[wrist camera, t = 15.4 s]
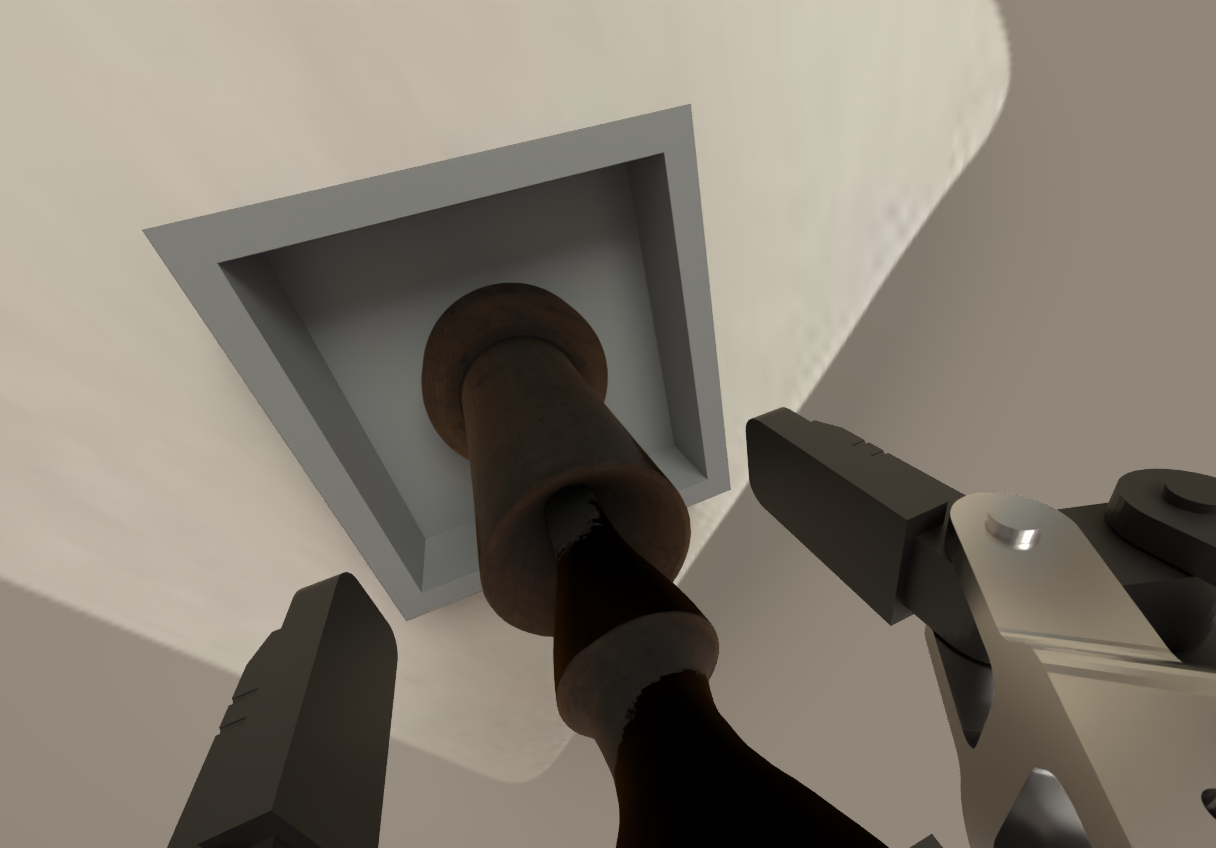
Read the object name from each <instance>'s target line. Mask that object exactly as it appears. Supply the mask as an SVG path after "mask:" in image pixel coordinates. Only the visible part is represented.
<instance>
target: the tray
mask: <svg viewBox="0 0 1216 848" xmlns="http://www.w3.org/2000/svg"><path fill="white" fill-rule="evenodd" d="M142 231H143V232H144V234H145V235H146V237H147V238H148V240H149V241H150V243H151V244H152V246H153V247H154V249H155V250H156V252H157V253H158V255H159V256H160V258H161V259H162V261H163V262H164V264H165V265H166V266H167V268H168V269H169V271H170V272H171V274H172V275H173V277H174V278H175V280H176V281H177V283H178V284H179V286H180V287H181V289H182V290H183V292H184V293H185V295H186V296H187V298H188V299H189V300H190V302H191V303H192V305H193V306H194V308H195V309H196V311H197V312H198V314H199V315H200V317H201V318H202V320H203V321H204V323H205V324H206V326H207V327H208V329H209V330H210V332H211V333H212V335H213V336H214V337H215V339H216V340H217V342H218V343H219V345H220V346H221V348H222V349H223V351H224V352H225V354H226V355H227V357H228V358H229V360H230V361H231V363H232V364H233V366H234V367H235V369H236V370H237V372H238V373H239V374H240V376H241V377H242V379H243V380H244V382H245V383H246V385H247V386H248V388H249V389H250V391H251V392H252V394H253V395H254V397H255V398H256V400H257V401H258V403H259V404H260V406H261V407H262V409H263V410H264V411H265V413H266V414H267V416H268V417H269V419H270V420H271V422H272V423H273V425H274V426H275V428H276V429H277V431H278V432H279V434H280V435H281V437H282V438H283V440H284V441H285V443H286V444H287V446H288V447H289V448H290V450H291V451H292V453H293V454H294V456H295V457H296V459H297V460H298V462H299V463H300V465H301V466H302V468H303V469H304V471H305V472H306V474H307V475H308V477H309V478H310V480H311V481H312V482H313V484H314V485H315V487H316V488H317V490H318V491H319V493H320V494H321V496H322V497H323V499H324V500H325V502H326V503H327V505H328V506H329V508H330V509H331V511H332V512H333V514H334V515H335V517H336V518H337V519H338V521H339V522H340V524H341V525H342V527H343V528H344V530H345V531H346V533H347V534H348V536H349V537H350V539H351V540H352V542H353V543H354V545H355V546H356V548H357V549H358V551H359V552H360V554H361V555H362V556H363V558H364V559H365V561H366V562H367V564H368V565H369V567H370V568H371V570H372V571H373V573H374V574H375V576H376V577H377V579H378V580H379V582H380V583H381V585H382V586H383V588H384V589H385V591H386V592H387V593H388V595H389V596H390V598H391V599H392V601H393V602H394V604H395V605H396V607H397V608H398V610H399V611H400V613H401V614H402V616H403V617H404V619H405V620H406V621H408V620H411V619H413V618H416V617H418V616H421V615H423V614H426V613H428V612H430V611H433V610H435V609H438V608H440V607H443V606H445V605H448V604H450V603H453V602H455V601H458V600H460V599H462V598H465V597H467V596H470V595H472V594H475V593H477V592H480V591H482V590H483V589H482V585H481V580H480V572H479V561H478V550H477V537H476V523H475V511H474V500H473V489H472V480H471V470H470V461H469V460H468V459H466V458H464V457H462V456H461V455H459V454H458V453H456V452H455V451H454V450H453V449H451V448H450V447H449V446H448V445H447V444H446V443H445V442H444V441H443V440H442V438H441V437H440V436H439V435H438V433H437V432H436V430H435V429H434V427H433V425H432V423H431V421H430V419H429V417H428V414H427V412H426V409H425V406H424V401H423V395H422V386H421V376H422V366H423V357H424V351H425V347H426V343H427V340H428V338H429V335H430V333H431V331H432V329H433V327H434V325H435V324H436V322H437V320H438V319H439V318H440V316H441V315H442V314H443V313H444V312H445V311H446V309H447V308H449V307H450V306H451V305H452V304H453V303H454V302H455V301H457V300H458V299H460V298H461V297H463V296H464V295H466V294H468V293H470V292H472V291H474V290H476V289H479V288H482V287H485V286H488V285H493V284H498V283H524V284H530V285H533V286H537V287H540V288H543V289H545V290H547V291H549V292H551V293H553V294H555V295H556V296H558V297H560V298H561V299H562V300H564V301H565V302H566V303H568V304H569V305H570V306H571V307H572V308H574V309H575V310H576V311H577V312H578V313H579V314H580V315H581V316H582V317H583V318H584V319H585V320H586V321H587V322H588V323H589V325H590V326H591V327H592V329H593V330H594V332H595V333H596V335H597V336H598V338H599V340H600V342H601V345H602V347H603V350H604V353H605V357H606V362H607V368H608V385H607V393H606V398H605V401H604V403H605V405H606V406H607V407H608V408H609V409H610V410H611V412H612V413H613V414H614V415H615V416H616V418H617V419H618V420H619V421H620V422H621V424H622V425H623V426H624V427H625V428H626V430H627V431H628V432H629V433H630V434H631V436H632V437H633V438H634V439H635V440H636V442H637V443H638V444H639V445H640V446H641V448H642V449H643V450H644V451H645V452H646V453H647V455H648V456H649V457H650V458H651V459H652V460H653V462H654V463H655V464H656V465H657V466H658V468H659V469H660V470H661V471H662V472H663V473H664V475H665V476H666V477H667V478H668V479H669V480H670V482H671V483H672V484H673V485H674V487H675V488H676V489H677V490H678V492H679V493H680V495H681V497H682V498H683V500H684V502H685V505H686V507H689V506H691V505H694V504H696V503H699V502H701V501H704V500H706V499H709V498H711V497H714V496H716V495H719V494H721V493H723V492H726V491H728V490H731V487H730V477H729V468H728V458H727V449H726V439H725V429H724V420H723V410H722V400H721V391H720V381H719V372H718V362H717V352H716V343H715V333H714V323H713V314H712V304H711V294H710V285H709V275H708V266H707V256H706V246H705V237H704V227H703V217H702V208H701V198H700V189H699V179H698V169H697V160H696V150H695V140H694V131H693V121H692V112H691V104H688V105H684V106H679V107H675V108H671V109H666V110H662V111H658V112H653V113H649V114H645V115H640V116H636V117H631V118H627V119H623V120H618V121H614V122H610V123H605V124H601V125H597V126H592V127H588V128H584V129H579V130H575V131H570V132H566V133H562V134H557V135H553V136H549V137H544V138H540V139H536V140H531V141H527V142H523V143H518V144H514V145H510V146H505V147H501V148H496V149H492V150H488V151H483V152H479V153H475V154H470V155H466V156H462V157H457V158H453V159H449V160H444V161H440V162H436V163H431V164H427V165H422V166H418V167H414V168H409V169H405V170H401V171H396V172H392V173H388V174H383V175H379V176H375V177H370V178H366V179H362V180H357V181H353V182H348V183H344V184H340V185H335V186H331V187H327V188H322V189H318V190H314V191H309V192H305V193H301V194H296V195H292V196H288V197H283V198H279V199H274V200H270V201H266V202H261V203H257V204H253V205H248V206H244V207H240V208H235V209H231V210H227V211H222V212H218V213H214V214H209V215H205V216H200V217H196V218H192V219H187V220H183V221H179V222H174V223H170V224H166V225H161V226H157V227H153V228H148V229H144V230H142Z"/></svg>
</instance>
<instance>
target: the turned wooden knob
mask: <svg viewBox="0 0 1216 848" xmlns="http://www.w3.org/2000/svg"><path fill="white" fill-rule="evenodd" d="M607 385H608V368H607V362H606V357H605V353H604V350H603V347H602V345H601V342H600V340H599V338H598V336H597V335H596V333H595V332H594V330H593V329H592V327H591V326H590V325H589V323H588V322H587V321H586V320H585V319H584V318H583V317H582V316H581V315H580V314H579V313H578V312H577V311H576V310H575V309H574V308H572V307H571V306H570V305H569V304H568V303H566V302H565V301H564V300H562V299H561V298H560V297H558V296H556V295H555V294H553V293H551V292H549V291H547V290H545V289H543V288H540V287H537V286H533V285H530V284H524V283H498V284H493V285H488V286H485V287H482V288H479V289H476V290H474V291H472V292H470V293H468V294H466V295H464V296H463V297H461V298H460V299H458V300H457V301H455V302H454V303H453V304H452V305H451V306H450V307H449V308H447V309H446V311H445V312H444V313H443V314H442V315H441V316H440V318H439V319H438V320H437V322H436V324H435V325H434V327H433V329H432V331H431V333H430V335H429V338H428V340H427V343H426V347H425V351H424V357H423V366H422V376H421V386H422V395H423V401H424V406H425V409H426V412H427V414H428V417H429V419H430V421H431V423H432V425H433V427H434V429H435V430H436V432H437V433H438V435H439V436H440V437H441V438H442V440H443V441H444V442H445V443H446V444H447V445H448V446H449V447H450V448H451V449H453V450H454V451H455V452H456V453H458V454H459V455H461V456H462V457H464V458H466V459H468V460H469V461H470V470H471V480H472V489H473V500H474V511H475V523H476V537H477V550H478V561H479V572H480V580H481V585H482V589H483V592H484V595H485V597H486V599H487V601H488V603H489V604H490V606H491V607H492V608H493V609H494V611H495V612H496V613H497V614H498V616H500V617H501V618H502V619H503V620H504V621H506V622H507V623H509V624H510V625H512V626H514V627H516V628H518V629H520V630H523V631H526V632H528V633H532V634H536V635H540V636H551V637H554V643H553V645H554V647H553V659H554V681H555V692H556V701H557V707H558V711H559V714H560V716H561V718H562V719H563V721H564V722H565V723H566V725H567V726H568V727H569V728H571V729H572V730H573V731H575V732H577V733H578V734H580V735H584V736H586V737H590V738H594V739H595V741H596V743H597V744H598V746H599V748H600V750H601V752H602V754H603V756H604V758H605V760H606V763H607V764H608V767H609V769H610V771H611V773H612V776H613V779H614V783H615V787H616V792H617V797H618V802H619V813H620V824H619V832H618V839H617V845H616V848H888V847H887V846H886V845H885V844H884V843H882V842H881V841H880V840H878V839H877V838H876V837H874V836H873V835H872V834H871V833H869V832H868V831H867V830H865V829H864V828H863V827H861V826H860V825H859V824H857V823H856V822H854V821H853V820H852V819H850V818H849V817H848V816H846V815H845V814H843V813H842V812H840V811H839V810H837V809H836V808H835V807H834V806H832V805H831V804H830V803H828V802H827V801H825V800H824V799H823V798H822V797H820V796H819V795H817V794H816V793H815V792H813V791H812V790H810V789H809V788H807V787H806V786H804V785H803V784H802V783H800V782H799V781H797V780H796V779H794V778H793V777H791V776H789V775H788V774H786V773H784V772H783V771H781V770H780V769H778V768H777V767H775V766H774V765H772V764H771V763H769V762H768V761H767V760H766V759H765V758H763V757H762V756H760V755H759V754H758V753H757V752H755V751H754V750H753V749H751V748H750V747H749V746H748V745H747V744H746V743H745V742H744V741H743V740H742V739H741V738H740V737H739V736H738V735H737V733H736V732H735V731H734V730H733V729H732V727H731V726H730V725H729V724H728V722H727V721H726V720H725V719H724V718H723V717H722V716H721V715H720V713H719V712H718V710H717V708H716V706H715V704H714V701H713V698H712V694H711V691H710V687H709V682H708V681H709V679H710V677H711V676H712V673H713V671H714V669H715V666H716V663H717V659H718V654H719V642H718V637H717V634H716V631H715V629H714V628H713V626H712V625H711V623H710V622H709V621H708V619H707V618H706V617H705V616H704V615H703V614H702V613H701V611H700V610H699V609H698V608H697V607H696V605H695V604H694V603H693V602H692V601H691V600H690V599H689V598H688V597H687V596H686V595H685V594H684V593H683V592H682V591H681V590H680V589H679V588H678V587H677V586H676V585H675V584H674V583H673V581H674V580H675V578H676V577H677V575H678V573H679V571H680V570H681V568H682V566H683V563H684V561H685V558H686V555H687V552H688V548H689V543H690V536H691V529H690V518H689V514H688V510H687V507H686V505H685V502H684V500H683V498H682V497H681V495H680V493H679V492H678V490H677V489H676V488H675V487H674V485H673V484H672V483H671V482H670V480H669V479H668V478H667V477H666V476H665V475H664V473H663V472H662V471H661V470H660V469H659V468H658V466H657V465H656V464H655V463H654V462H653V460H652V459H651V458H650V457H649V456H648V455H647V453H646V452H645V451H644V450H643V449H642V448H641V446H640V445H639V444H638V443H637V442H636V440H635V439H634V438H633V437H632V436H631V434H630V433H629V432H628V431H627V430H626V428H625V427H624V426H623V425H622V424H621V422H620V421H619V420H618V419H617V418H616V416H615V415H614V414H613V413H612V412H611V410H610V409H609V408H608V407H607V406H606V405H605V403H604V401H605V398H606V393H607Z"/></svg>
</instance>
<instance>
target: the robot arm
mask: <svg viewBox="0 0 1216 848" xmlns="http://www.w3.org/2000/svg"><path fill="white" fill-rule="evenodd" d="M746 441H747V455H748V469H749V481H750V485H751V488H752V490H753V493H754V494H755V496H756V498H757V500H758V501H759V502H760V504H761V505H762V506H763V507H764V508H765V509H766V510H767V511H768V512H769V513H770V514H771V515H772V516H774V517H775V518H776V519H777V520H778V521H779V522H780V523H781V524H782V525H783V526H784V527H785V528H786V529H788V530H789V531H790V532H791V533H792V534H793V535H794V536H795V537H796V538H797V539H798V540H799V541H800V542H801V543H803V544H804V545H805V546H806V547H807V548H808V549H809V550H810V551H811V552H812V553H813V554H814V555H815V556H816V557H818V558H819V559H820V560H821V561H822V562H823V563H824V564H825V565H826V566H827V567H828V568H829V569H830V570H832V571H833V572H834V573H835V574H836V575H837V576H838V577H839V578H840V579H841V580H842V581H843V582H845V584H846V585H848V586H849V587H850V588H851V589H852V590H853V591H854V592H855V593H856V594H857V595H858V596H859V597H860V598H862V599H863V600H864V601H865V602H866V603H867V604H868V605H869V606H870V607H871V608H872V609H873V610H874V611H875V612H877V613H878V614H879V615H880V616H881V617H882V618H883V619H884V620H885V621H886V622H887V623H888V624H889V625H893V624H895V623H897V622H899V621H901V620H903V619H905V618H907V617H909V616H911V615H913V614H915V615H916V616H917V617H918V618H920V619H921V620H922V621H923V622H924V623H925V624H926V626H925V638H926V642H927V646H928V650H929V654H930V657H931V660H932V664H933V668H934V671H935V675H936V679H937V682H938V686H939V689H940V693H941V696H942V700H943V704H944V707H945V711H946V714H947V718H948V722H949V725H950V729H951V732H952V736H953V739H954V743H955V747H956V750H957V755H958V760H959V765H960V776H961V803H962V811H963V817H964V823H965V828H966V832H967V837H968V841H969V845H970V848H1216V478H1215V477H1212V476H1208V475H1203V474H1199V473H1194V472H1188V471H1181V470H1172V469H1171V470H1170V469H1144V470H1137V471H1133V472H1130V473H1127V474H1125V475H1124V476H1122V477H1121V478H1120V479H1119V480H1118V483H1117V485H1116V487H1115V489H1114V492H1113V494H1112V496H1111V498H1110V501H1109V503H1103V504H1095V505H1088V506H1080V507H1073V508H1065V509H1058V510H1056V509H1054V508H1053V507H1050V506H1049V505H1046V504H1044V503H1042V502H1039V501H1036V500H1033V499H1030V498H1027V497H1023V496H1019V495H1014V494H1009V493H999V492H982V493H975V494H970V495H967V496H966V495H964V494H962V493H960V492H958V491H956V490H955V489H953V488H951V487H949V486H947V485H945V484H944V483H942V482H940V481H938V480H936V479H935V478H933V477H931V476H929V475H927V474H925V473H924V472H922V471H920V470H918V469H916V468H915V467H912V466H911V465H909V464H907V463H905V462H903V461H902V460H900V459H898V458H896V457H894V456H893V455H891V454H889V453H887V454H885V453H884V452H883V450H881V449H880V448H878V447H876V446H874V445H873V444H871V443H865V441H864V440H863V439H862V438H860V437H858V436H856V435H854V434H853V433H851V432H849V431H847V430H845V429H843V428H841V427H837V426H834V425H830V424H826V423H822V422H818V421H812V422H810V421H808V420H806V419H805V418H803V417H802V416H800V415H798V414H797V413H795V412H793V411H791V410H790V409H787V408H784V407H782V408H779V409H776V410H773V411H771V412H768V413H765V414H763V415H760V416H758V417H755V418H752V419H750V420H749V421H748V422H747V424H746ZM397 660H398V653H397V645H396V640H395V637H394V634H393V631H392V629H391V627H390V625H389V624H388V622H387V621H386V619H385V618H384V617H383V615H382V614H381V612H380V611H379V610H378V608H377V607H376V605H375V604H374V603H373V601H372V600H371V598H370V597H369V596H368V594H367V593H366V591H365V590H364V589H363V587H362V586H361V584H360V583H359V581H358V580H357V579H356V578H355V577H354V576H353V575H352V574H351V573H348V572H344V573H342V574H339V575H336V576H334V577H331V578H329V579H326V580H323V581H321V582H318V583H315V584H313V585H310V586H308V587H305V588H302V589H300V590H298V591H297V592H296V594H295V595H294V597H293V599H292V602H291V605H290V607H289V610H288V612H287V615H286V617H285V620H284V623H283V625H282V628H281V629H279V630H276V631H274V632H272V633H271V634H270V635H269V637H268V638H267V639H266V641H265V642H264V643H263V644H262V646H261V647H260V648H259V650H258V651H257V652H256V653H255V655H254V656H253V657H252V659H251V660H250V661H249V663H248V664H247V665H246V667H245V670H244V672H243V674H242V677H241V679H240V681H239V684H238V686H237V688H236V690H235V693H234V695H233V697H232V700H233V704H232V705H230V706H228V709H227V711H226V713H225V716H224V718H223V720H222V723H221V725H220V727H219V728H220V734H219V735H217V736H216V737H215V739H214V741H213V743H212V746H211V748H210V750H209V753H208V755H207V757H206V759H205V762H204V764H203V766H202V769H201V771H200V773H199V775H198V778H197V780H196V782H195V785H194V787H193V789H192V792H191V794H190V796H189V798H188V801H187V803H186V805H185V808H184V810H183V812H182V815H181V817H180V819H179V821H178V824H177V826H176V828H175V831H174V833H173V835H172V838H171V840H170V842H169V845H168V847H167V848H378V843H379V833H380V823H381V814H382V805H383V795H384V785H385V776H386V766H387V757H388V747H389V737H390V728H391V718H392V709H393V699H394V689H395V680H396V670H397ZM910 848H943V847H942V846H941V845H940V844H939V842H938V841H937V840H936V838H935V837H934V836H933V835H932V834H931V835H929V836H928V837H926V838H925V839H923V840H921V841H920V842H918V843H917V844H915V845H913V846H912V847H910Z"/></svg>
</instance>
